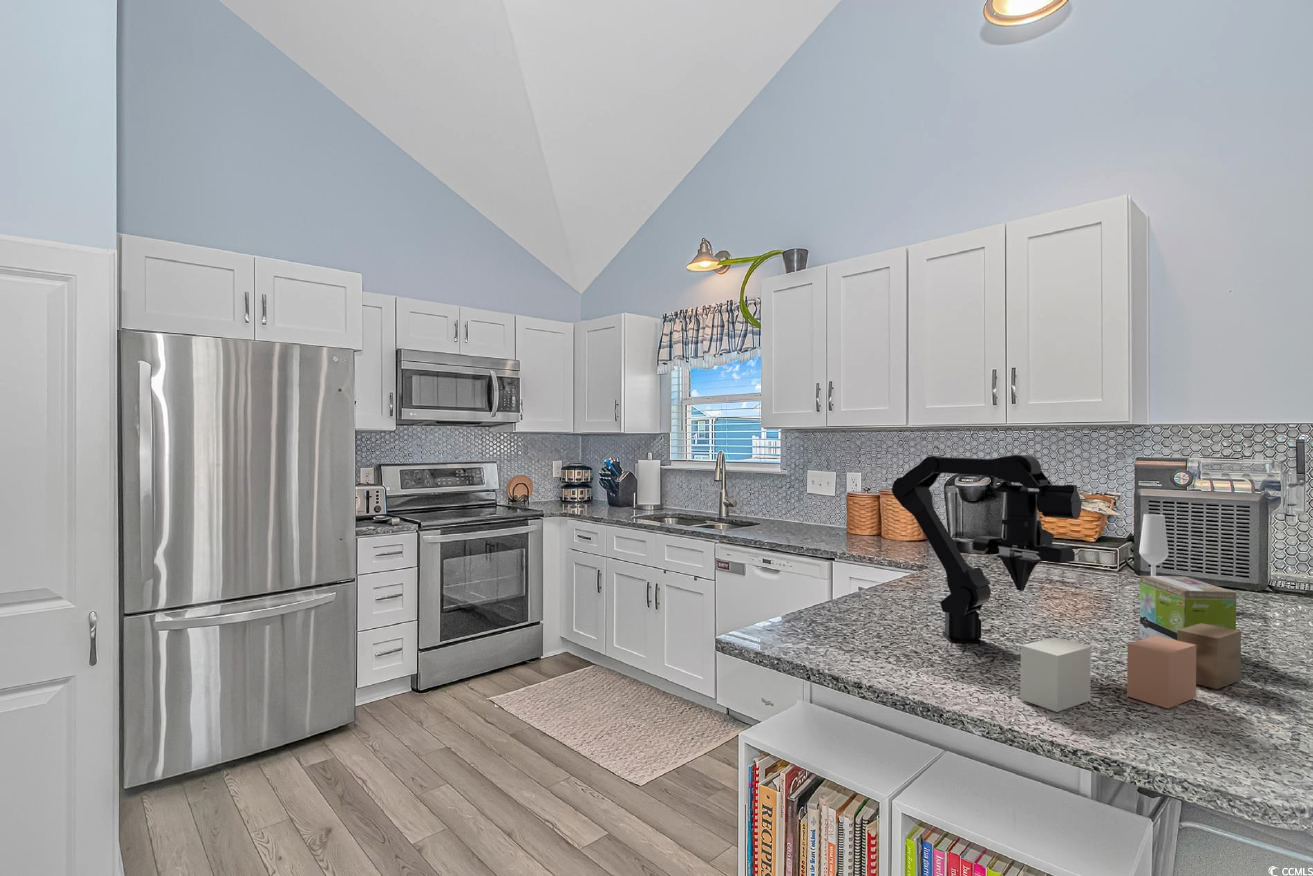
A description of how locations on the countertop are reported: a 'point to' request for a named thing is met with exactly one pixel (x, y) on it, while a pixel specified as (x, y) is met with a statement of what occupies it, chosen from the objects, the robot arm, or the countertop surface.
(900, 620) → the countertop surface
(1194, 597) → the tea box
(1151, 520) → the champagne flute
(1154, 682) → the terracotta block
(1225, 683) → the walnut block
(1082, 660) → the cream block
